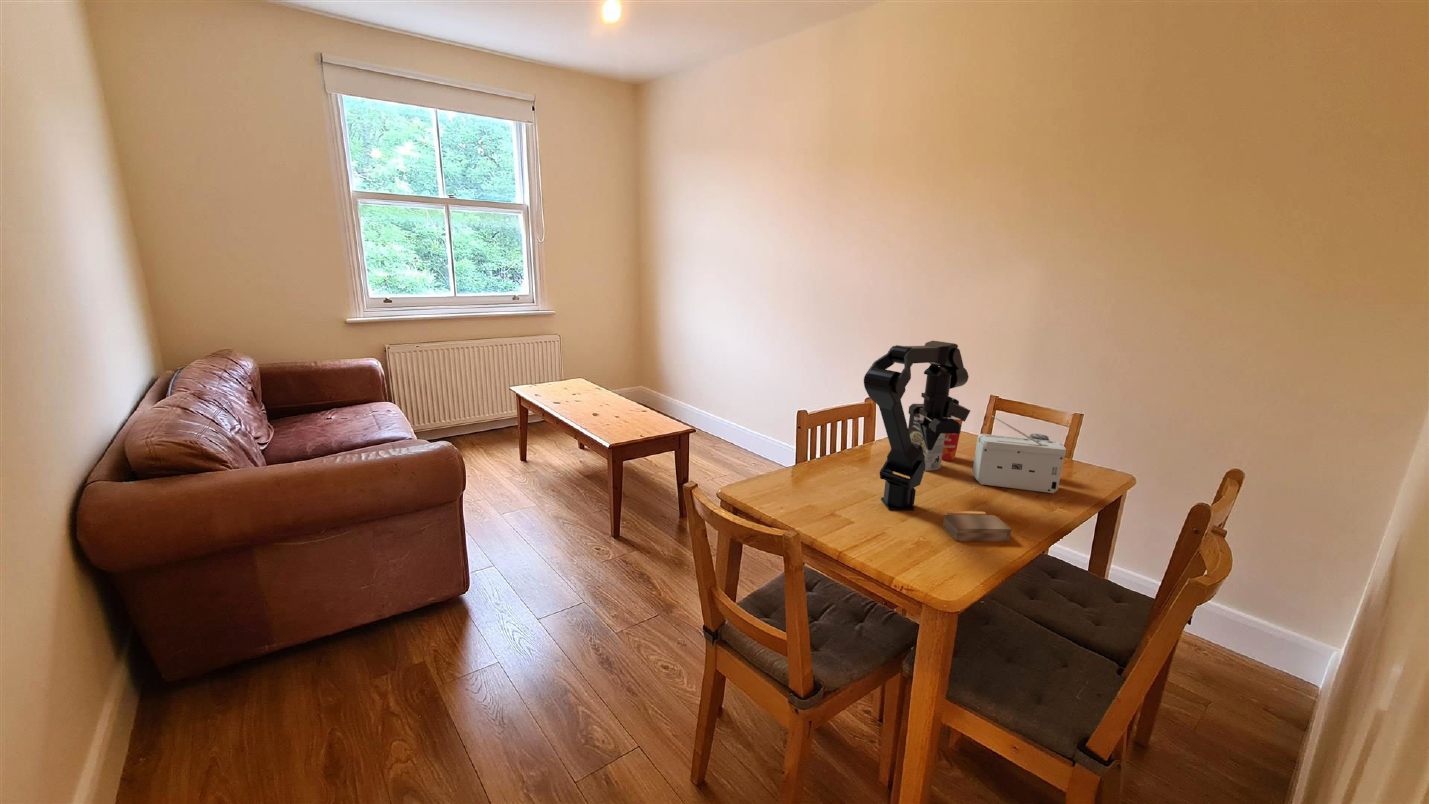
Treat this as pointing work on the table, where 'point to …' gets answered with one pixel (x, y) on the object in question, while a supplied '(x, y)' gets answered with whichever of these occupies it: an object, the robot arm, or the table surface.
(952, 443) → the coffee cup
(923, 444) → the coffee box
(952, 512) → the plate
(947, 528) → the taupe rectangular slab
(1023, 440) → the stereo radio cassette player
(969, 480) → the table surface
